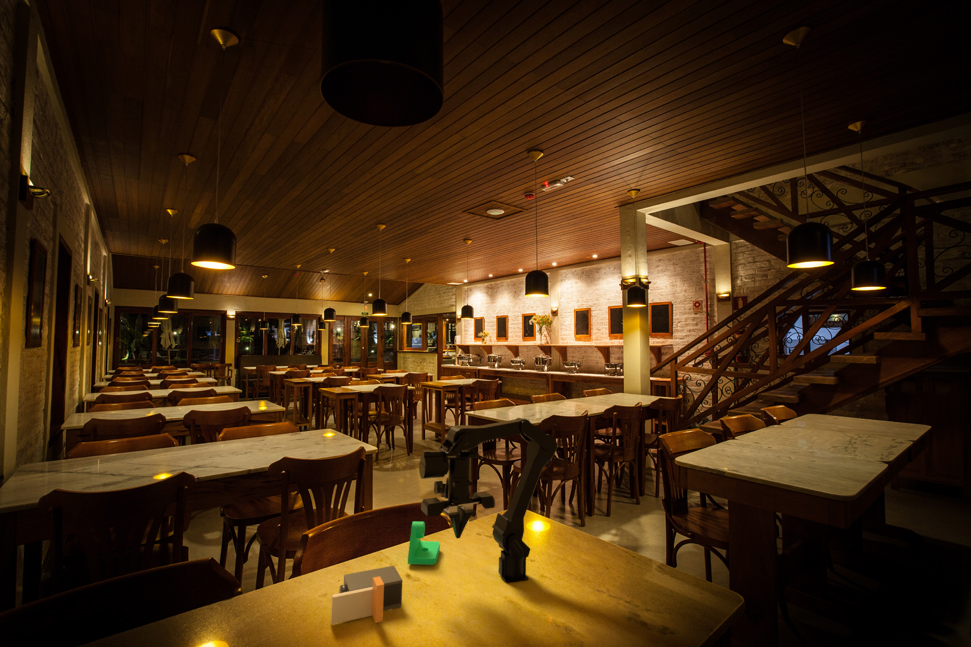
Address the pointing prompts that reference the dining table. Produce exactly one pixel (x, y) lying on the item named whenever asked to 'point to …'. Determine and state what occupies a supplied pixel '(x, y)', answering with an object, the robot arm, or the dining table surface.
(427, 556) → the camera mount
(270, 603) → the dining table surface
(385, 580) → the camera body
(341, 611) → the side door
